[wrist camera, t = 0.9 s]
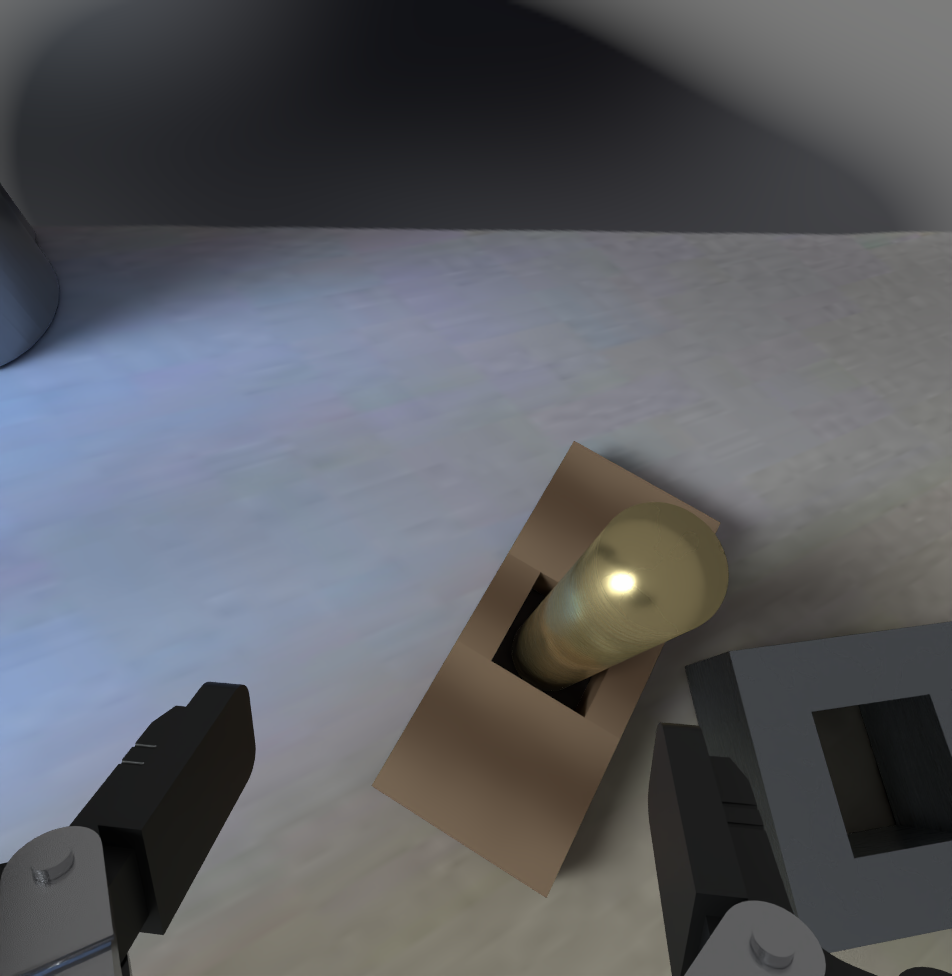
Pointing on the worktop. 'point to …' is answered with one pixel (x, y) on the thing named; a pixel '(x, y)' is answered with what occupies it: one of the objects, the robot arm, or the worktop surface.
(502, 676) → the beam
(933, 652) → the seat block
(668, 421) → the worktop surface
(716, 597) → the axle
